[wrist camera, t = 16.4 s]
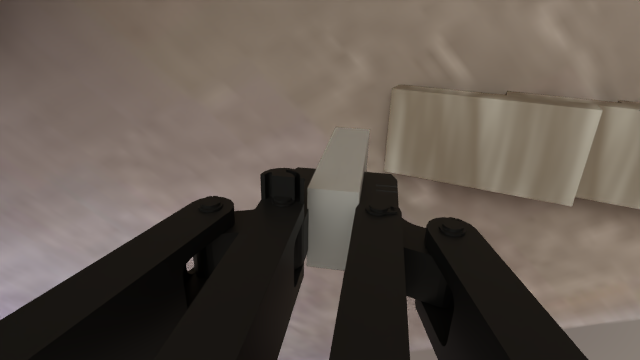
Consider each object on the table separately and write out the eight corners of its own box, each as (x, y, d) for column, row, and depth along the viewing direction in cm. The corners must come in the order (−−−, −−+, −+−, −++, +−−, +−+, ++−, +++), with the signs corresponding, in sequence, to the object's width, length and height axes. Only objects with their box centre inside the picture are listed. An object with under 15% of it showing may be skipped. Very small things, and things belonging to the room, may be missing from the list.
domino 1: (383, 171, 24) (572, 206, 20) (391, 88, 22) (602, 110, 18) (390, 163, 25) (568, 194, 21) (399, 84, 23) (596, 104, 19)
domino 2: (487, 180, 23) (704, 221, 19) (506, 95, 21) (753, 122, 17) (489, 171, 24) (692, 208, 20) (507, 91, 22) (736, 114, 18)
